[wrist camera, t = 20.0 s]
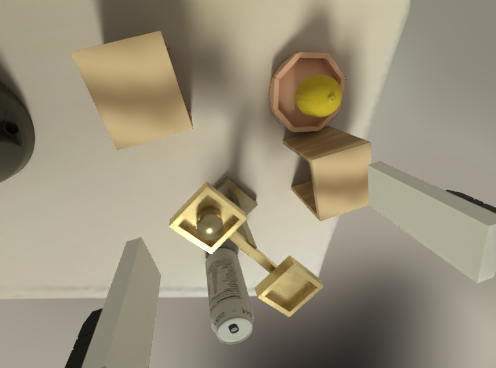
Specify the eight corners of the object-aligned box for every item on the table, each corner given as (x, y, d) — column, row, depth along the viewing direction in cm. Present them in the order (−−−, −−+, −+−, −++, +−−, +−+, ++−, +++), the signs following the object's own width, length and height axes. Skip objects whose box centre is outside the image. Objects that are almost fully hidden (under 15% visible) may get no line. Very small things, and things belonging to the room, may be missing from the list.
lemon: (280, 89, 37) (303, 93, 30) (312, 66, 37) (342, 64, 30) (299, 120, 40) (323, 131, 33) (328, 98, 39) (360, 104, 32)
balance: (174, 178, 40) (167, 241, 25) (200, 150, 39) (209, 198, 24) (257, 240, 48) (289, 317, 33) (280, 218, 47) (323, 286, 32)
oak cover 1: (105, 58, 32) (70, 52, 23) (168, 43, 33) (160, 30, 23) (135, 129, 36) (117, 150, 27) (191, 114, 37) (192, 128, 27)
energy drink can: (211, 276, 49) (220, 353, 36) (200, 252, 46) (205, 325, 33) (241, 264, 49) (261, 336, 36) (231, 240, 47) (250, 308, 33)
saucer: (253, 93, 38) (257, 94, 36) (308, 34, 36) (315, 32, 34) (299, 143, 42) (304, 146, 40) (349, 92, 41) (357, 93, 39)
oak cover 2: (282, 140, 41) (311, 160, 32) (328, 126, 42) (370, 142, 33) (291, 189, 45) (320, 221, 36) (333, 176, 46) (372, 203, 36)
